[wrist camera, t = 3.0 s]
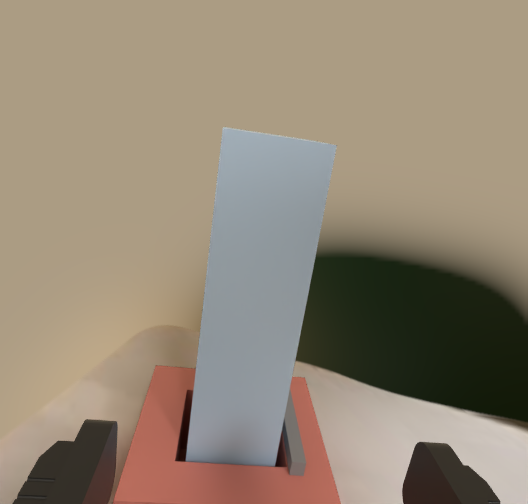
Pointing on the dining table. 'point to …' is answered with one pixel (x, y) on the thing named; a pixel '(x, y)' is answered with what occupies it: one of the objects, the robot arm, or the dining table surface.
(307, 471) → the pink square holder
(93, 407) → the dining table surface
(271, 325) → the pale blue tall pillar
